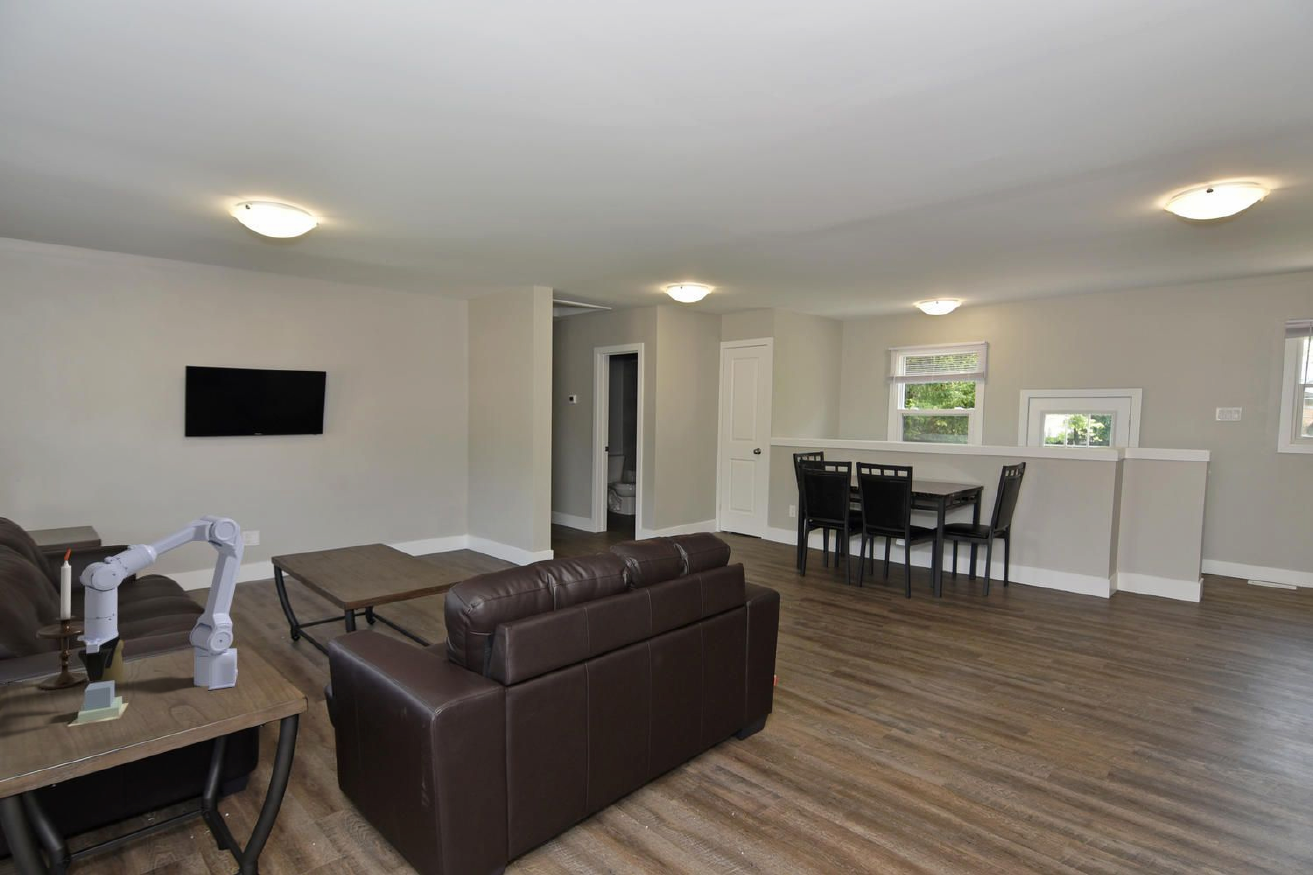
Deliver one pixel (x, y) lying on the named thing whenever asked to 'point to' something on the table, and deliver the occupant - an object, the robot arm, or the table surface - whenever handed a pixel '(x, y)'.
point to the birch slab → (101, 719)
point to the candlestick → (64, 636)
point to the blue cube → (99, 695)
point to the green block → (100, 711)
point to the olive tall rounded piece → (115, 667)
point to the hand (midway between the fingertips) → (100, 674)
